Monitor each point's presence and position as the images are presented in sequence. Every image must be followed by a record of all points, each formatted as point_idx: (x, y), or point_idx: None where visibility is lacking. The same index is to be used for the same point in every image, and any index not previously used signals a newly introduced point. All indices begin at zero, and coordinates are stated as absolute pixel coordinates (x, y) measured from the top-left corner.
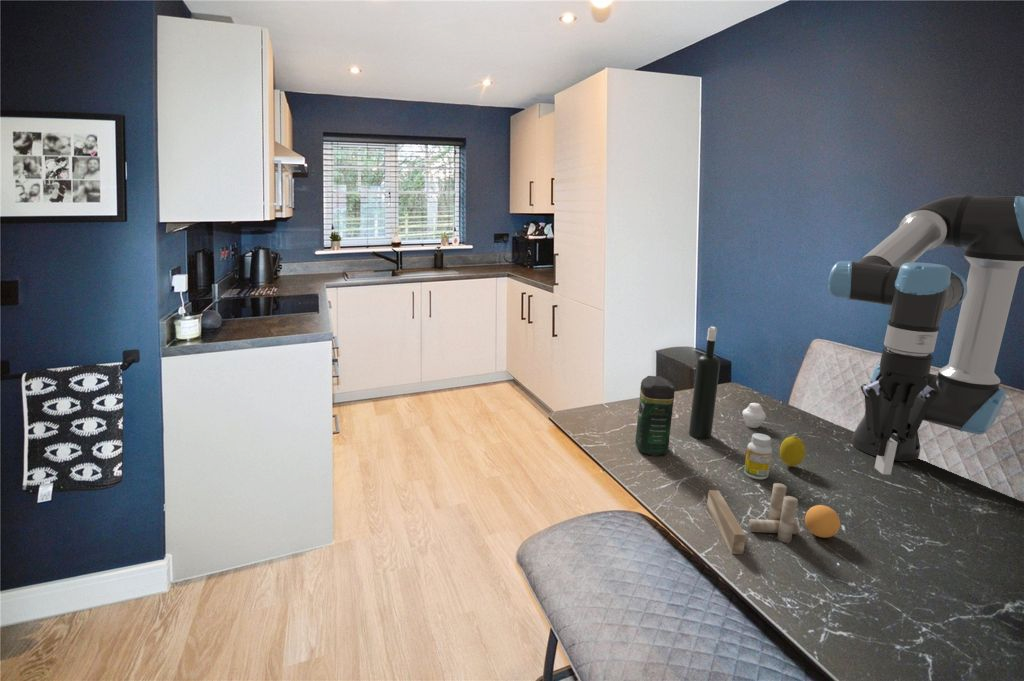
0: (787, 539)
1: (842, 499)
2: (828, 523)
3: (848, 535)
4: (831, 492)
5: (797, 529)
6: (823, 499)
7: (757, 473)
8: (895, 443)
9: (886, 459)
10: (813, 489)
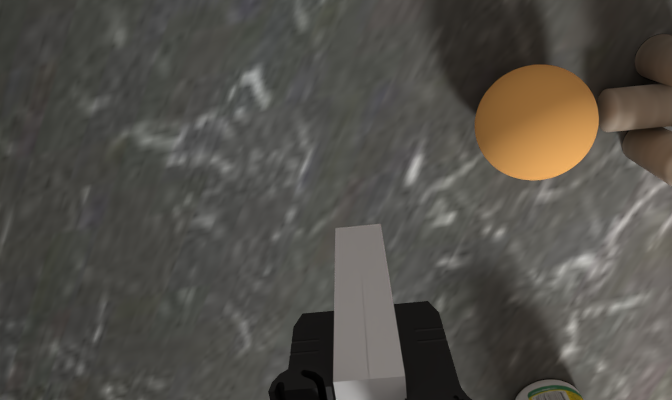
0: (668, 36)
1: None
2: (554, 74)
3: (418, 124)
4: None
5: (613, 92)
6: None
7: (565, 393)
8: (349, 372)
9: (385, 277)
10: None
